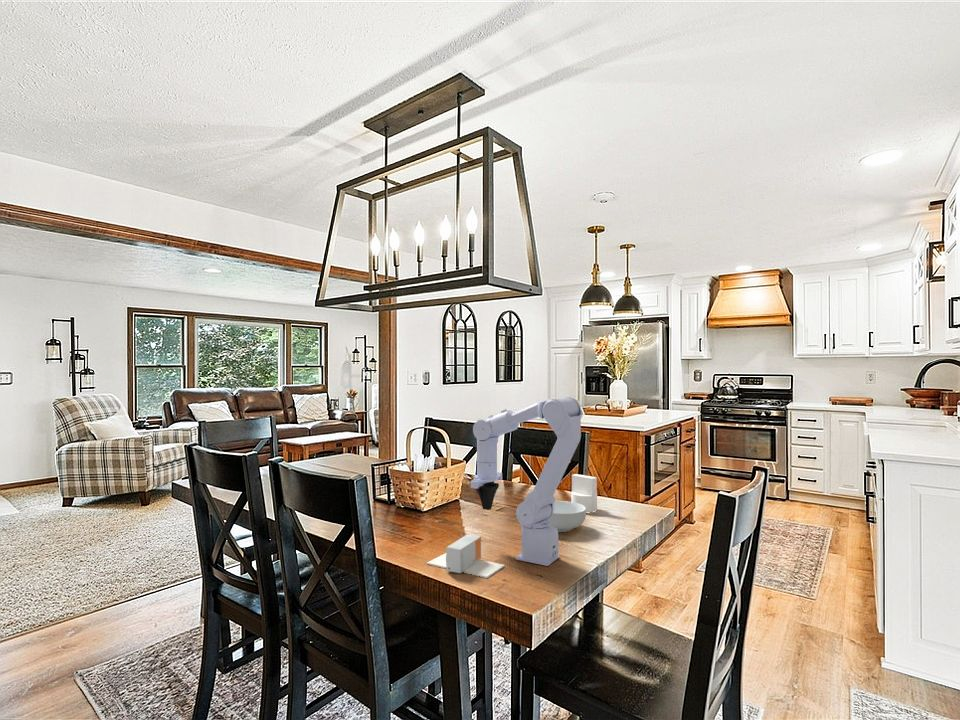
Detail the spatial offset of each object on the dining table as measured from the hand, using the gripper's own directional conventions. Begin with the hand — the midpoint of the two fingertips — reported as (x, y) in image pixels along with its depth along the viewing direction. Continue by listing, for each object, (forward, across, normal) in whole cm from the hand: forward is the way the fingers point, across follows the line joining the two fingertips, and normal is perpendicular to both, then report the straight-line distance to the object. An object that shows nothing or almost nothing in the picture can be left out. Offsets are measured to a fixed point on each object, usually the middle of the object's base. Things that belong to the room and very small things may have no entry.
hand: (487, 509), depth 155 cm
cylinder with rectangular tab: (+11, -51, +10) cm, 53 cm away
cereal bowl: (+11, -26, +11) cm, 30 cm away
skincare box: (+7, +10, +2) cm, 13 cm away
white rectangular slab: (+10, +16, +3) cm, 19 cm away
